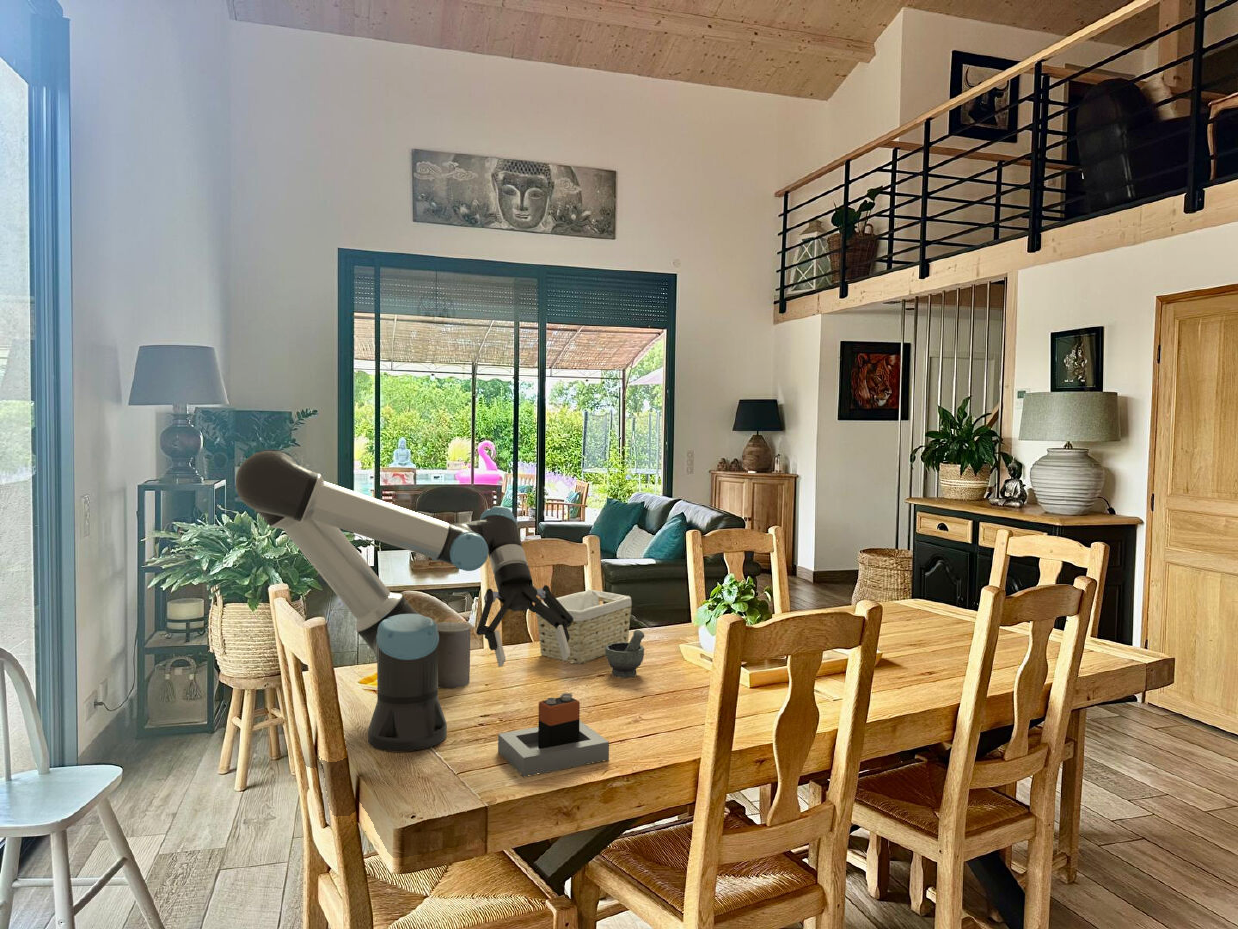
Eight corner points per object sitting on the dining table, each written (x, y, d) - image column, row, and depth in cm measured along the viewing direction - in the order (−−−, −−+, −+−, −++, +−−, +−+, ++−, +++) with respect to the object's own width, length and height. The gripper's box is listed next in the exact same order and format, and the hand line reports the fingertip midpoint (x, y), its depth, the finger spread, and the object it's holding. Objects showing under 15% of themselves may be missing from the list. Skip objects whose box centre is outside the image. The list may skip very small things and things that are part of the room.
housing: (523, 777, 151) (523, 757, 150) (498, 751, 162) (498, 733, 162) (608, 760, 159) (609, 742, 158) (578, 737, 170) (579, 719, 170)
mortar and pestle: (597, 673, 213) (597, 626, 212) (624, 666, 219) (624, 620, 219) (628, 684, 205) (628, 634, 204) (655, 676, 211) (656, 628, 211)
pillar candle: (421, 686, 201) (422, 623, 200) (441, 674, 210) (442, 614, 210) (458, 691, 198) (459, 627, 197) (477, 679, 208) (478, 618, 207)
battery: (580, 748, 160) (580, 696, 160) (549, 756, 156) (549, 703, 156) (567, 741, 164) (568, 690, 163) (537, 749, 160) (537, 696, 159)
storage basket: (577, 667, 219) (578, 610, 218) (532, 656, 229) (532, 601, 228) (634, 648, 237) (634, 596, 237) (589, 638, 247) (590, 588, 247)
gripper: (560, 578, 189) (586, 663, 176) (449, 584, 178) (469, 676, 165) (570, 558, 184) (598, 644, 171) (457, 563, 173) (478, 656, 160)
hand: (535, 660), depth 168 cm, fingers open, 13 cm apart
